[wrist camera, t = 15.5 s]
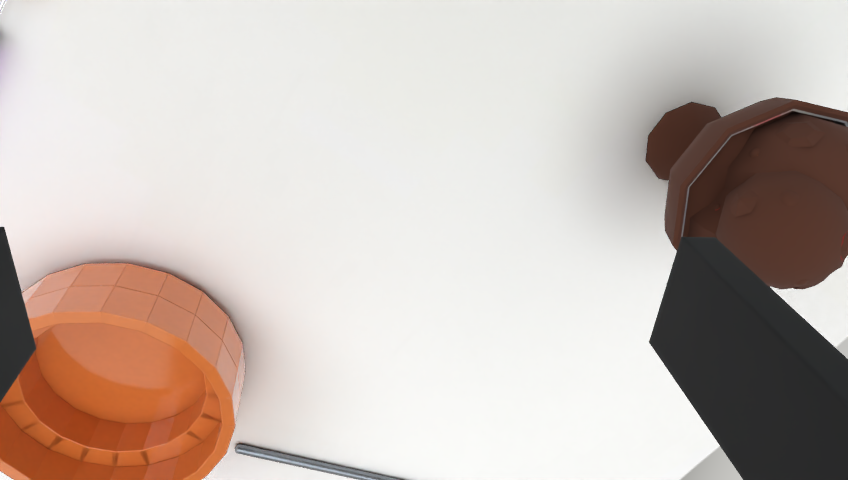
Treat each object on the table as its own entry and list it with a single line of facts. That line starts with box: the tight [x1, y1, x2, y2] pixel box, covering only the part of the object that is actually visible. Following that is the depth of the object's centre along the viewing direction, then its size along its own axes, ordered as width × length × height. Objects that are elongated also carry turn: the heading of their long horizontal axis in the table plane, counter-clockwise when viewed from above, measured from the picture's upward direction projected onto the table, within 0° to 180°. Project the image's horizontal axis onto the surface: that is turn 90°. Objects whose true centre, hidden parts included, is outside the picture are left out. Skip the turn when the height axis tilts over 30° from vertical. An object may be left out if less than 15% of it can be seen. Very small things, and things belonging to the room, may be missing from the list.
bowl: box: [0, 263, 245, 480], centre depth 41 cm, size 16×16×6 cm
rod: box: [235, 444, 400, 480], centre depth 51 cm, size 1×19×1 cm, turn 65°
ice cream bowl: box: [646, 97, 848, 289], centre depth 35 cm, size 11×11×15 cm
